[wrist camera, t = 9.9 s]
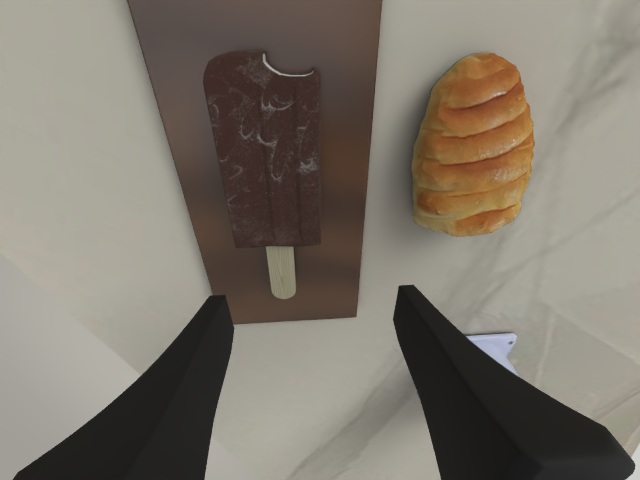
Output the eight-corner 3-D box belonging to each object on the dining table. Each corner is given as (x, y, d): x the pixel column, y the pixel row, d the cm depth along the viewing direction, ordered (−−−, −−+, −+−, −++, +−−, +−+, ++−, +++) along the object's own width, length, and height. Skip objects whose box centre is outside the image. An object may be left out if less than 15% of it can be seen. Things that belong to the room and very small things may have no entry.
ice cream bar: (320, 287, 22) (318, 50, 14) (321, 303, 21) (321, 50, 12) (249, 290, 22) (204, 50, 14) (246, 307, 20) (194, 51, 12)
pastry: (397, 71, 15) (424, 77, 12) (529, 35, 15) (593, 32, 12) (408, 222, 20) (429, 255, 17) (507, 199, 20) (547, 228, 17)
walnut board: (355, 310, 25) (356, 317, 24) (223, 317, 24) (221, 325, 24) (382, -46, 13) (386, -50, 12) (121, -45, 12) (111, -50, 12)
